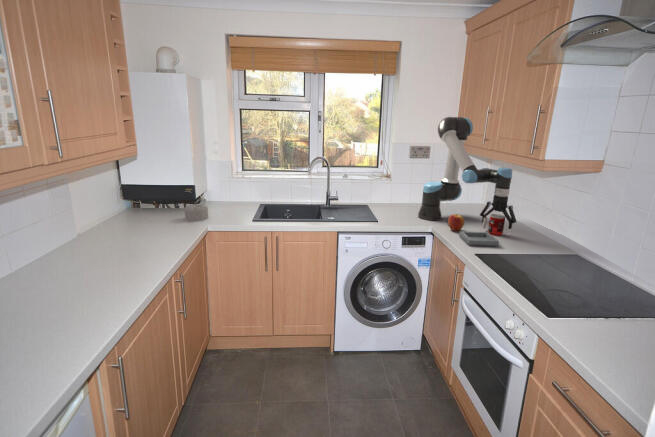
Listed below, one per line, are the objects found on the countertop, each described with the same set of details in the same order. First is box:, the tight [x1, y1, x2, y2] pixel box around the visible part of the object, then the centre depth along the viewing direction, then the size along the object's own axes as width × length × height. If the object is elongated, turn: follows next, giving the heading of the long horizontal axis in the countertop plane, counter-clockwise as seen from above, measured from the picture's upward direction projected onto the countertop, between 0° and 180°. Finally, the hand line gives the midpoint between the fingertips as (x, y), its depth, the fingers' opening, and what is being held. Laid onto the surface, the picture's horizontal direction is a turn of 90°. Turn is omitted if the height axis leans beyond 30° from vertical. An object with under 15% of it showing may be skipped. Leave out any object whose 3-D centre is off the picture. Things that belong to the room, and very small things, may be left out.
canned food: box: [487, 213, 506, 237], centre depth 217 cm, size 8×8×11 cm
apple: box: [447, 213, 465, 232], centre depth 221 cm, size 9×9×10 cm
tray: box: [459, 230, 500, 248], centre depth 204 cm, size 16×16×3 cm
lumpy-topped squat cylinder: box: [184, 203, 209, 223], centre depth 229 cm, size 10×13×9 cm
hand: (495, 231), depth 218 cm, fingers open, 13 cm apart
